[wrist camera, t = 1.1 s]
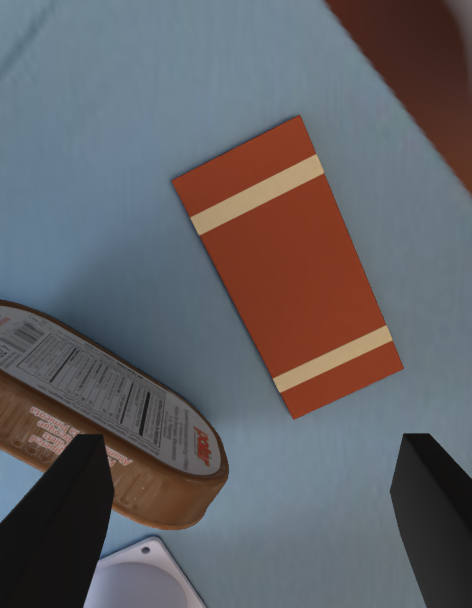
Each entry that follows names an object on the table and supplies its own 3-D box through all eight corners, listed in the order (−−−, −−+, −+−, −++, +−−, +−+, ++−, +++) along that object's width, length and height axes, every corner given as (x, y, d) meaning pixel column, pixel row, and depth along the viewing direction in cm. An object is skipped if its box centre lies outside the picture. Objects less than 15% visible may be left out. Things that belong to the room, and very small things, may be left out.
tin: (-29, 318, 24) (-148, 391, 16) (0, 270, 23) (-108, 322, 15) (203, 453, 27) (202, 572, 19) (233, 415, 27) (245, 520, 19)
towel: (291, 414, 27) (293, 420, 26) (171, 180, 23) (170, 180, 22) (400, 364, 26) (404, 369, 26) (298, 115, 22) (300, 114, 22)
